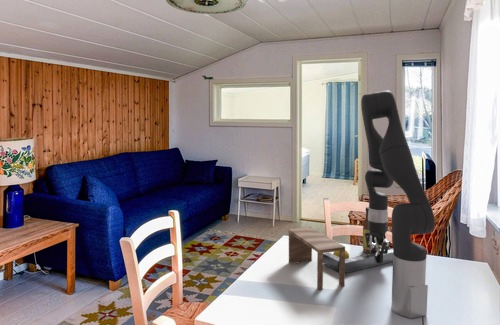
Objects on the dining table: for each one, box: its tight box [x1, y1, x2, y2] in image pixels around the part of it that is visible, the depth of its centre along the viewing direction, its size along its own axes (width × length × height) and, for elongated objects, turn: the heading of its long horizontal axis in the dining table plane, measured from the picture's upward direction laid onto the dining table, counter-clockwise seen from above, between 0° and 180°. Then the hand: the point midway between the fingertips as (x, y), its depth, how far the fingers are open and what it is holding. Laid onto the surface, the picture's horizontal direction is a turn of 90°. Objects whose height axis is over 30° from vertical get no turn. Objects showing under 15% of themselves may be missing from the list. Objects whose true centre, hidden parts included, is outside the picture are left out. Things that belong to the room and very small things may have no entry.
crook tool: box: [323, 248, 393, 274], centre depth 152 cm, size 12×29×4 cm, turn 117°
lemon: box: [332, 249, 350, 259], centre depth 152 cm, size 6×6×8 cm
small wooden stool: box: [288, 226, 346, 291], centre depth 141 cm, size 26×10×14 cm, turn 18°
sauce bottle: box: [362, 206, 377, 254], centre depth 164 cm, size 7×6×20 cm
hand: (376, 260), depth 150 cm, fingers closed on crook tool, 3 cm apart
